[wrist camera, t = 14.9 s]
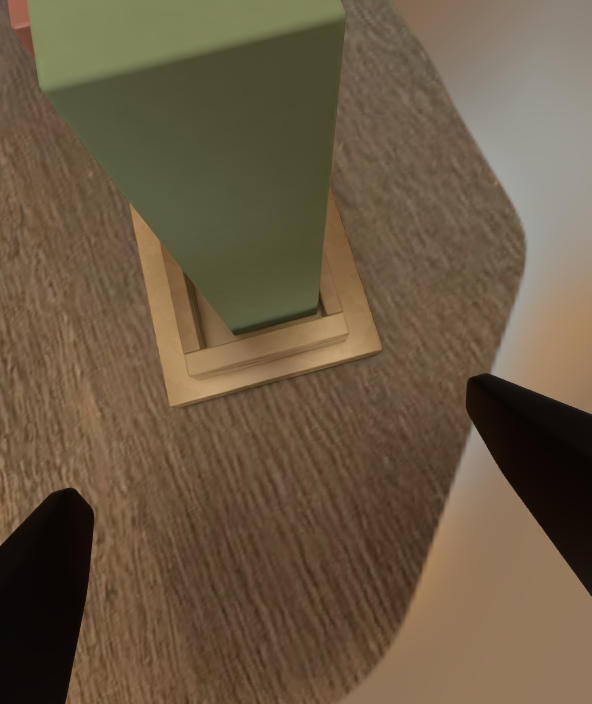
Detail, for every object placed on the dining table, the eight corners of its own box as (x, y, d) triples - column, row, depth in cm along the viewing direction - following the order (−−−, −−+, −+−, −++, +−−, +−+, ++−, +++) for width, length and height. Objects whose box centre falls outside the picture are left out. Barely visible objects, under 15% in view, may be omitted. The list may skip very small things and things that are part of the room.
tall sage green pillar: (287, 211, 19) (248, -262, 6) (317, 314, 17) (348, 12, 5) (209, 231, 18) (-8, -205, 6) (234, 336, 17) (36, 89, 5)
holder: (284, 59, 22) (262, -314, 11) (378, 354, 18) (487, 245, 7) (115, 101, 21) (-84, -238, 10) (178, 408, 18) (-22, 379, 7)
